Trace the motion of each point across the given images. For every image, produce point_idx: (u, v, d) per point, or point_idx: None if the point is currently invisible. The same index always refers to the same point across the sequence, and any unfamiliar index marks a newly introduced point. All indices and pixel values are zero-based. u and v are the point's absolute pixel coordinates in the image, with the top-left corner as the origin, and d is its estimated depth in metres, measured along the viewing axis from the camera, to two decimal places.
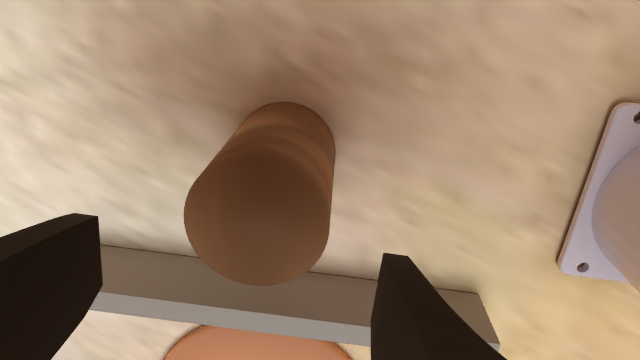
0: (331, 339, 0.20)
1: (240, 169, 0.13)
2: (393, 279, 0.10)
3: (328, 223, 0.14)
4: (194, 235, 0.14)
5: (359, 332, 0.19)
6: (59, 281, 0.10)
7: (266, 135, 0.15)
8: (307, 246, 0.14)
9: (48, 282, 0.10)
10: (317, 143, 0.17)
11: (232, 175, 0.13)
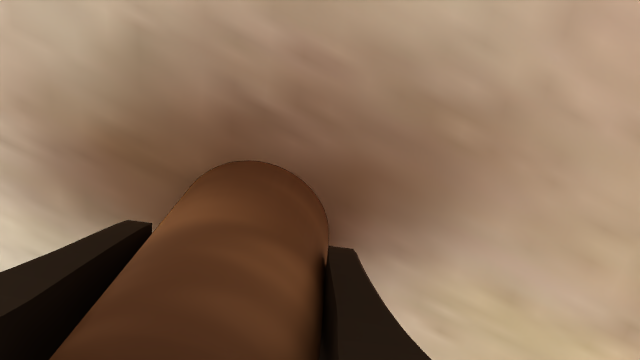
0: None
1: None
2: (330, 271, 0.10)
3: None
4: None
5: None
6: None
7: (195, 257, 0.08)
8: None
9: None
10: (295, 251, 0.10)
11: None
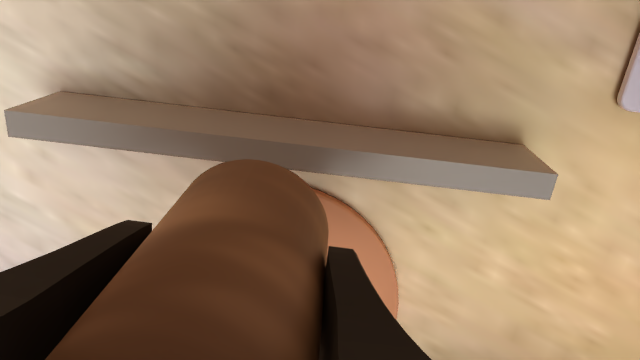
0: (359, 174, 0.17)
1: (122, 357, 0.06)
2: (330, 271, 0.10)
3: None
4: None
5: (392, 164, 0.17)
6: None
7: (195, 253, 0.08)
8: None
9: None
10: (295, 248, 0.10)
11: None
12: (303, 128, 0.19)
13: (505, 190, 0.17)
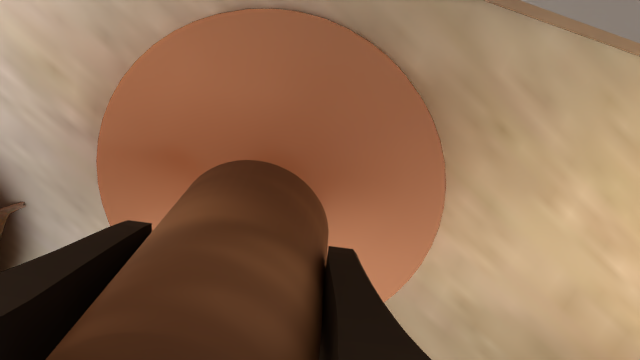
0: None
1: (121, 358, 0.06)
2: (329, 271, 0.10)
3: None
4: None
5: None
6: None
7: (195, 254, 0.08)
8: None
9: None
10: (295, 249, 0.10)
11: None
12: None
13: None
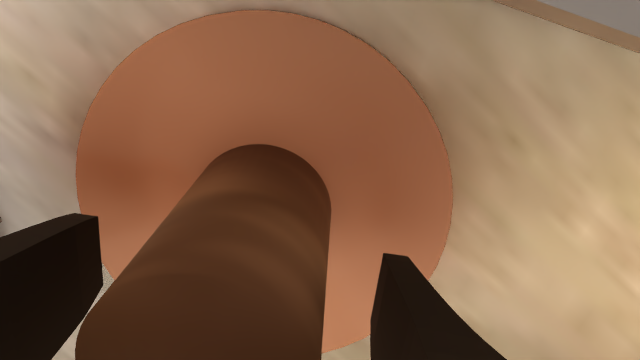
0: None
1: (164, 295, 0.08)
2: (393, 279, 0.10)
3: None
4: None
5: None
6: (59, 281, 0.10)
7: (219, 218, 0.09)
8: None
9: (49, 282, 0.10)
10: (303, 218, 0.11)
11: (152, 304, 0.08)
12: None
13: None
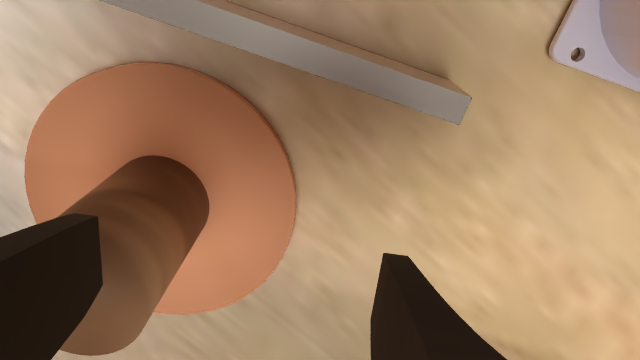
0: (265, 54, 0.15)
1: None
2: (393, 279, 0.10)
3: (146, 297, 0.14)
4: None
5: (302, 49, 0.15)
6: (59, 281, 0.10)
7: (98, 204, 0.15)
8: (128, 319, 0.14)
9: (48, 282, 0.10)
10: (164, 206, 0.17)
11: None
12: (220, 2, 0.17)
13: (416, 105, 0.16)
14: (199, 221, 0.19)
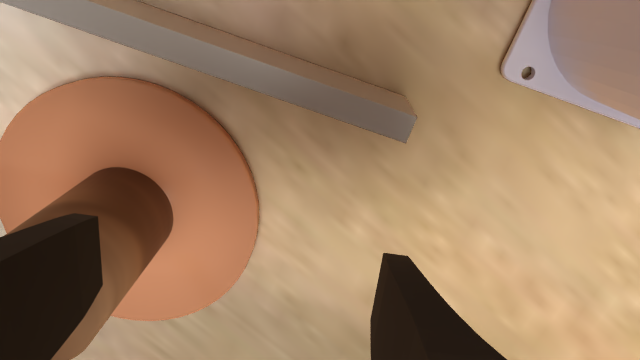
0: (216, 74, 0.16)
1: None
2: (393, 279, 0.10)
3: (93, 310, 0.14)
4: None
5: (251, 69, 0.16)
6: (59, 281, 0.10)
7: (52, 218, 0.16)
8: (77, 330, 0.15)
9: (48, 282, 0.10)
10: (121, 219, 0.17)
11: None
12: (176, 21, 0.17)
13: (363, 123, 0.16)
14: (160, 232, 0.20)
